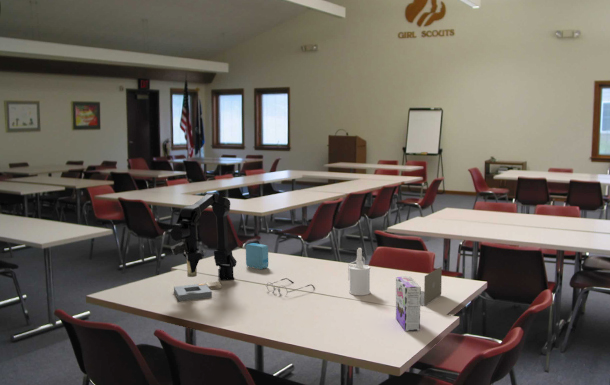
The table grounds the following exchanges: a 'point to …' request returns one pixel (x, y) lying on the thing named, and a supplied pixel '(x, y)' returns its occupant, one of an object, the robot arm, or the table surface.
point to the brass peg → (190, 271)
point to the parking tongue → (213, 285)
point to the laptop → (431, 287)
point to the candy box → (408, 303)
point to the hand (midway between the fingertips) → (191, 271)
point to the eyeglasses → (284, 286)
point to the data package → (257, 255)
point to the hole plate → (192, 292)
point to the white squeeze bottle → (359, 276)
